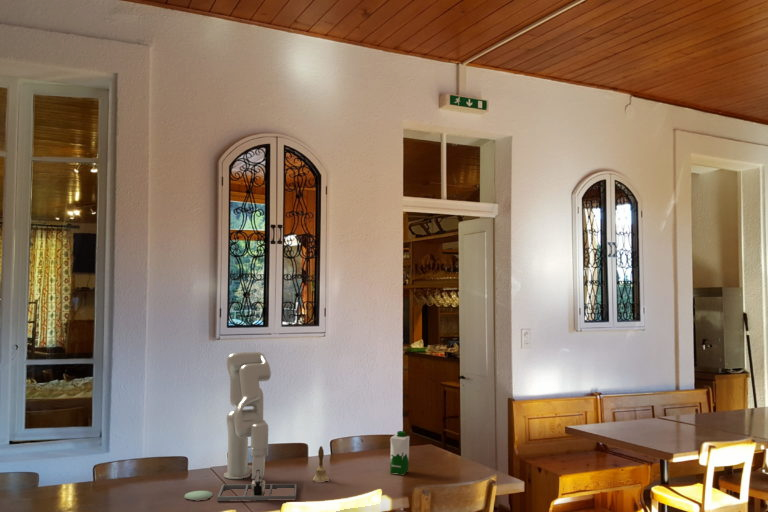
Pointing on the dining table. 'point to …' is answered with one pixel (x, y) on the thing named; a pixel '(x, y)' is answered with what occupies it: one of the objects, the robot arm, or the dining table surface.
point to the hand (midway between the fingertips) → (258, 492)
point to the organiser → (244, 497)
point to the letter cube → (262, 488)
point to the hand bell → (320, 468)
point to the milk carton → (399, 453)
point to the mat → (198, 495)
